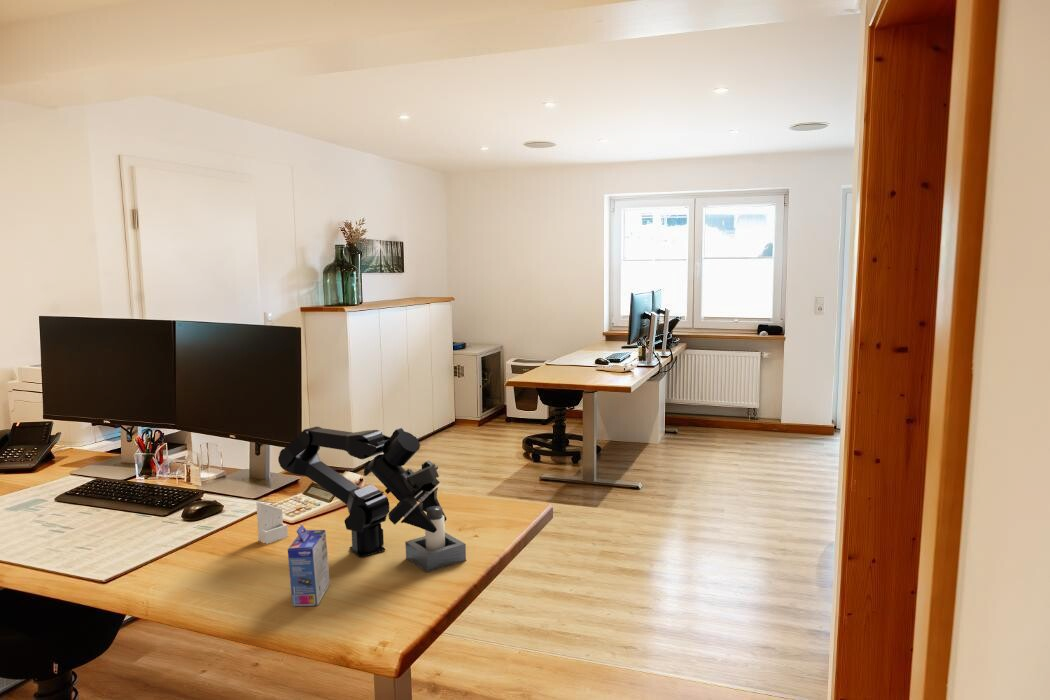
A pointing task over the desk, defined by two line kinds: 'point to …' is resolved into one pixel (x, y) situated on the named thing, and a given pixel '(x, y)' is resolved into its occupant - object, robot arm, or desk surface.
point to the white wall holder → (270, 523)
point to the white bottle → (438, 537)
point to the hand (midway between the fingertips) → (440, 526)
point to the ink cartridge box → (308, 567)
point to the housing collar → (435, 553)
